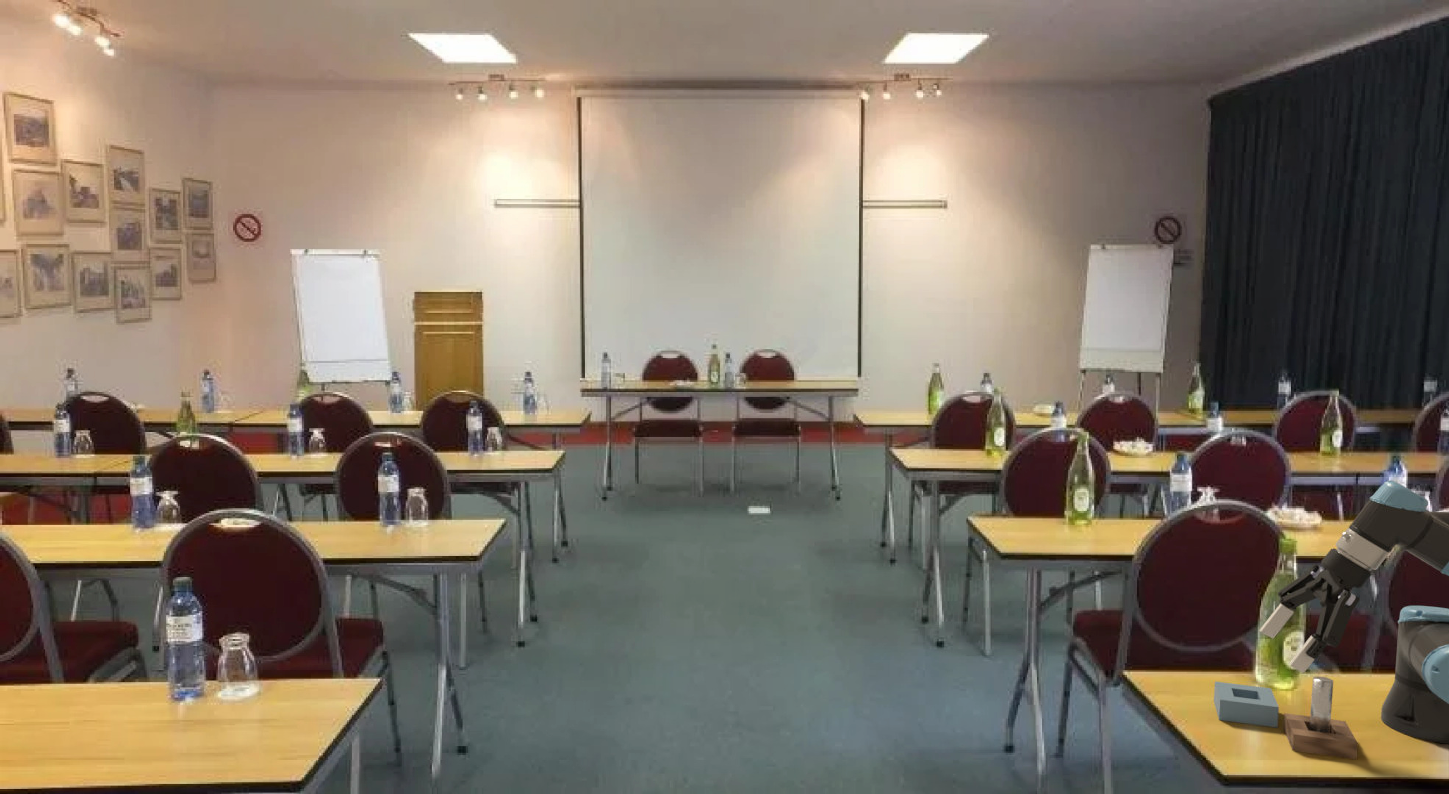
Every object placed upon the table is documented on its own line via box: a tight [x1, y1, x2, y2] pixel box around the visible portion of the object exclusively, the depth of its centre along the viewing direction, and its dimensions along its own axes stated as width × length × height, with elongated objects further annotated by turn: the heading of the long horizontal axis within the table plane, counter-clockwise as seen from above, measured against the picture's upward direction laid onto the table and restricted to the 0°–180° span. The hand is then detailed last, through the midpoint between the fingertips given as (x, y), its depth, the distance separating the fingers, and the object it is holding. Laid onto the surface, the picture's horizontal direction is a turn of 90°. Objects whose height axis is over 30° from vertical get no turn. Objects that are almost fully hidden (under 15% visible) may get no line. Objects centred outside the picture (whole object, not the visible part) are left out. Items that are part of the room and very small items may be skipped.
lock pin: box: [1309, 675, 1334, 733], centre depth 187 cm, size 3×3×12 cm
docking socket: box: [1213, 681, 1280, 728], centre depth 201 cm, size 10×10×4 cm
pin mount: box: [1283, 712, 1359, 760], centre depth 188 cm, size 10×10×3 cm
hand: (1280, 651), depth 191 cm, fingers open, 13 cm apart
